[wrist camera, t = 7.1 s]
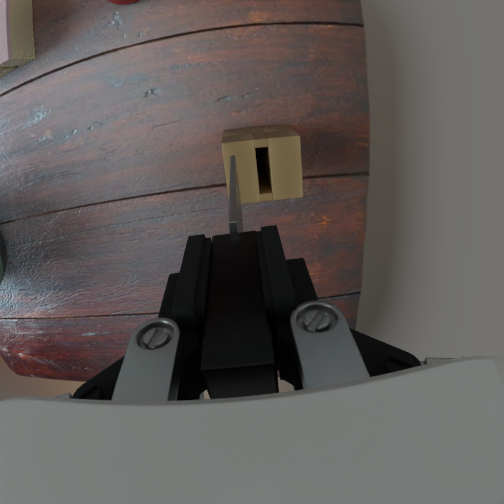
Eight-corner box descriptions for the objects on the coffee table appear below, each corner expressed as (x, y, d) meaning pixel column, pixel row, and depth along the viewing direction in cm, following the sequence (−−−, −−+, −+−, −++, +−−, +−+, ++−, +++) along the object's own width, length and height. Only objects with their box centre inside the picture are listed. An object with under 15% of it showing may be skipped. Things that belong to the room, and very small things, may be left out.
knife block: (286, 123, 34) (300, 135, 27) (289, 173, 37) (303, 197, 30) (223, 130, 34) (221, 143, 27) (230, 180, 37) (229, 205, 30)
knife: (245, 153, 20) (275, 349, 6) (250, 200, 21) (282, 426, 8) (220, 157, 20) (194, 357, 6) (227, 203, 22) (222, 431, 8)
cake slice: (32, -1, 22) (6, -7, 17) (36, 58, 27) (8, 59, 22) (17, 7, 22) (-9, 3, 17) (21, 65, 27) (-7, 68, 22)
